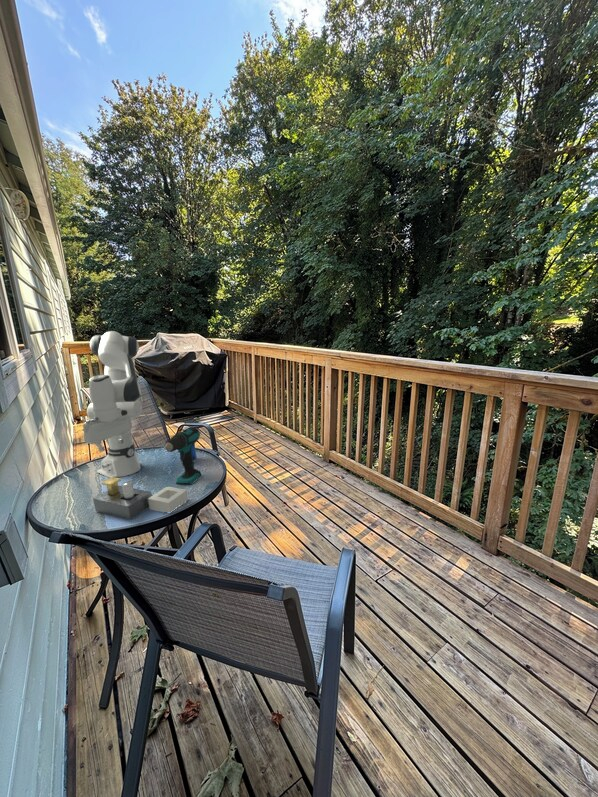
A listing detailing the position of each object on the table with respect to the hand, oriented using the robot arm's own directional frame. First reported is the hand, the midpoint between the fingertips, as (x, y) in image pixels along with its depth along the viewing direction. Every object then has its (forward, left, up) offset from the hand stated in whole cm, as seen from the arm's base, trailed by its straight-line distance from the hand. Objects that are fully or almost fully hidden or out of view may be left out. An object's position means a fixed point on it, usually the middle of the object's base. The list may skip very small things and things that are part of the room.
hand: (112, 446), depth 146 cm
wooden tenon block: (-1, -3, -22) cm, 22 cm away
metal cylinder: (+8, -3, -26) cm, 28 cm away
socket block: (+4, -2, -26) cm, 27 cm away
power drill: (+14, +25, -26) cm, 39 cm away
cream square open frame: (+21, +6, -26) cm, 34 cm away
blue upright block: (-2, +46, -26) cm, 53 cm away
